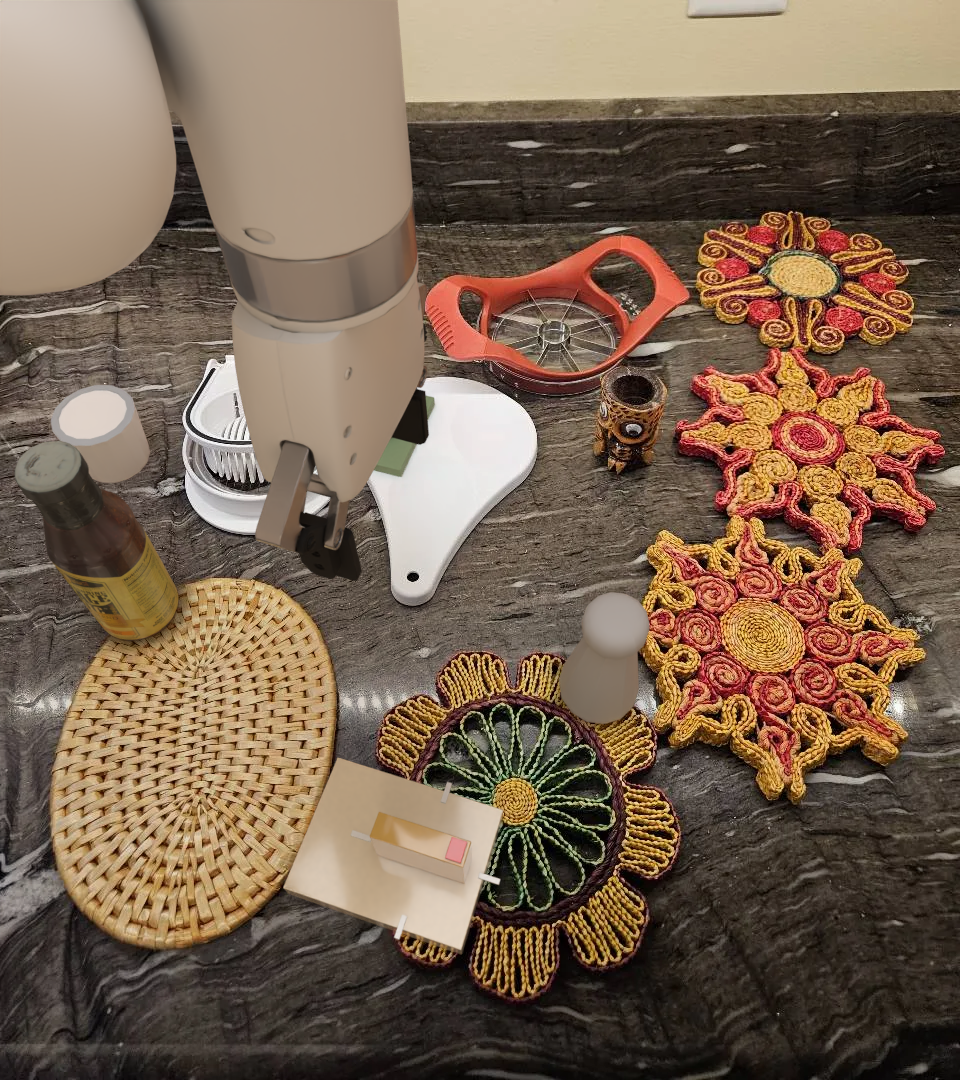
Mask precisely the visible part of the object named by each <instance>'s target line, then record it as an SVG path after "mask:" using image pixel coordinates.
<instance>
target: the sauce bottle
mask: <svg viewBox="0 0 960 1080" xmlns="http://www.w3.org/2000/svg"><path fill="white" fill-rule="evenodd" d="M14 480H15V482H16V484H17V486H18V487H19V489H20V491H21V493H22V494H23V495H24V496H25V498H27V499H28V500H30V501H31V502H33V504H34V505H35V506H36V508H37V509H38V510H39V512H40V514H41V517H42V522H43V523H42V524H43V532H44V542H45V551H46V554H47V557H48V558H49V560H50V562H51V563H52V564H53V565H54V567H55V568H56V569H57V571H58V572H59V574H60V575H61V576H62V577H63V579H64V580H65V581H66V582H67V584H68V585H69V587H70V588H71V589H72V591H73V592H74V593H75V594H76V595H77V597H78V598H79V600H80V601H81V602H82V603H83V604H84V606H85V607H86V608H87V609H88V611H89V612H90V614H91V615H92V617H94V619H95V620H96V621H97V622H98V624H99V625H100V626H101V628H102V629H103V630H104V632H106V633H108V634H109V635H111V636H112V637H115V638H117V639H120V640H123V641H126V642H135V641H141V640H143V639H147V638H150V637H153V636H154V635H156V634H158V633H161V632H162V631H164V630H165V629H166V628H167V627H168V626H169V624H170V623H171V620H173V617H174V616H175V614H176V611H177V609H178V606H179V592H178V589H177V587H176V584H175V583H174V580H173V578H172V577H171V576H170V574H169V571H168V570H167V568H166V566H165V565H164V563H163V561H162V559H161V557H160V555H159V554H158V552H157V550H156V548H155V547H154V544H153V543H152V541H151V539H150V538H149V536H148V534H147V532H146V530H145V529H144V527H143V525H142V524H141V522H140V521H138V520H137V518H136V516H135V514H134V511H133V510H132V508H131V507H130V506H129V504H128V503H127V502H126V501H125V500H124V499H123V498H122V496H120V495H118V494H116V493H114V492H112V491H109V490H106V489H104V488H101V487H100V486H99V485H98V484H97V483H96V482H95V480H94V479H92V477H91V476H90V474H89V468H88V465H87V463H86V461H85V459H84V458H83V456H82V455H81V453H80V452H79V450H78V449H77V448H75V447H74V446H72V445H71V444H69V443H67V442H63V441H60V440H56V441H55V440H54V441H44V442H41V443H38V444H35V445H34V446H32V447H30V448H28V449H27V450H26V451H25V452H24V453H23V454H22V455H21V456H20V457H19V458H18V460H17V463H16V464H15V468H14Z"/></svg>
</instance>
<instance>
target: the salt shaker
mask: <svg viewBox="0 0 960 1080" xmlns="http://www.w3.org/2000/svg"><path fill="white" fill-rule="evenodd" d="M650 629H651V627H650V621H649V617H648V612H647V610H646V608H645V607H644V606H643V604H641V602H640V601H639V600H638V599H637V598H634V597H633V596H631V595H628V594H627V593H623V592H616V591H615V592H614V591H609V592H607V593H602V594H599V595H597V596H596V597H595V598H594V599H593V600H592V601H590V602H589V603H588V604H587V606H586V607H585V610H584V613H583V616H582V619H581V632H582V637H581V639H580V640H579V641H578V643H577V644H576V646H575V648H574V649H573V650H572V652H571V653H570V655H569V656H568V658H567V659H566V660H565V662H564V663H563V665H562V669H561V672H560V675H559V678H558V682H559V690H560V691H559V692H560V698H561V700H562V701H563V703H564V705H565V706H566V707H567V708H568V710H569V711H570V712H571V713H572V714H573V715H575V716H576V717H578V718H579V719H581V720H583V721H584V722H586V723H593V724H601V725H606V724H609V723H613V722H615V721H620V720H621V719H622V718H624V716H626V714H627V713H629V711H630V710H631V709H632V708H633V707H635V705H636V704H635V703H636V700H637V696H638V695H639V689H640V685H639V656H638V655H639V654H638V653H639V651H640V650H641V649H642V648H643V647H644V646H645V644H646V641H647V638H648V636H649V632H650Z"/></svg>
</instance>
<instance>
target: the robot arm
mask: <svg viewBox="0 0 960 1080" xmlns="http://www.w3.org/2000/svg"><path fill="white" fill-rule="evenodd" d="M403 65H404V64H403V52H402V40H401V26H400V13H399V2H398V0H0V296H35V295H42V294H50V293H58V292H67V291H71V290H75V289H79V288H81V287H85V286H88V285H91V284H94V283H98V282H100V281H103V280H105V279H107V278H109V277H110V276H112V275H115V273H118V272H119V271H121V270H123V269H125V268H127V267H128V266H129V265H131V264H132V263H133V262H134V261H135V260H136V259H138V257H139V256H140V255H141V254H143V253H144V252H145V251H146V250H147V249H148V248H149V246H150V245H151V244H152V242H154V240H155V238H156V237H157V235H158V234H159V232H160V231H161V229H162V228H163V226H164V224H165V221H166V218H167V215H168V212H169V210H170V207H171V204H172V200H173V198H174V194H175V193H174V191H175V182H176V174H177V152H176V145H175V137H174V129H173V123H172V118H171V113H170V111H171V112H173V114H175V116H177V118H178V119H179V121H180V122H181V125H182V128H183V131H184V134H185V137H186V141H187V144H188V147H189V151H190V154H191V157H192V160H193V164H194V167H195V170H196V174H197V177H198V180H199V183H200V187H201V189H202V193H203V196H204V200H205V203H206V206H207V209H208V213H209V215H210V219H211V222H212V226H213V228H214V231H215V234H216V238H217V241H218V244H219V247H220V251H221V254H222V259H223V261H224V264H225V267H226V270H227V274H228V277H229V281H230V285H231V287H232V291H233V292H234V295H235V297H236V299H237V302H236V303H235V306H234V309H233V311H232V313H231V336H232V337H231V338H232V348H233V349H232V350H233V359H234V367H235V375H236V380H237V386H238V387H237V388H238V391H239V396H240V400H241V405H242V409H243V414H244V419H245V422H246V427H247V431H248V435H249V438H250V441H251V445H252V449H253V452H254V455H255V458H256V462H257V464H258V467H259V469H260V473H261V474H262V476H263V478H264V479H265V481H266V482H268V483H270V484H269V487H268V490H267V494H266V497H265V500H264V502H263V506H262V510H261V511H260V515H259V519H258V522H257V524H256V528H255V531H254V537H255V540H256V541H257V542H260V543H262V544H266V545H269V546H272V547H276V548H279V549H282V550H284V551H285V550H286V551H288V552H291V553H292V552H293V553H296V554H298V555H299V558H300V561H301V563H302V565H304V566H305V567H306V569H307V570H308V571H309V572H310V573H312V574H314V575H316V576H318V577H321V578H324V579H328V580H333V579H335V578H336V577H340V578H343V579H345V580H349V581H353V582H357V581H358V580H359V578H360V576H361V574H362V565H361V561H360V557H359V552H358V548H357V543H356V539H355V536H354V531H353V530H351V528H349V527H346V524H347V518H348V512H349V506H350V501H351V500H352V499H354V498H355V497H356V496H358V495H359V494H360V493H361V492H362V490H363V489H364V488H365V486H366V485H367V483H368V482H369V480H370V478H371V476H372V474H373V472H374V471H375V470H374V469H375V467H376V465H377V463H378V461H379V459H380V458H381V456H382V454H383V452H384V450H385V448H386V446H387V444H388V442H389V441H390V439H391V437H392V438H396V439H399V440H403V441H407V442H411V443H414V444H416V445H418V446H419V445H420V446H421V445H424V444H426V442H427V440H428V439H429V435H430V432H429V431H430V430H429V421H428V420H429V418H427V406H426V396H427V395H426V390H422V389H421V388H423V387H424V386H425V383H426V380H427V375H428V368H427V365H425V353H426V352H425V348H426V347H425V342H427V339H428V335H427V334H428V331H427V327H426V324H424V318H425V310H426V300H427V293H428V286H427V284H426V283H422V282H419V281H418V273H419V252H418V240H417V227H416V216H415V215H416V214H415V201H414V190H413V178H412V165H411V163H412V162H411V152H410V141H409V140H410V139H409V130H408V117H407V106H406V94H405V79H404V67H403ZM315 469H316V473H317V474H316V473H314V471H315ZM308 492H310V493H313V494H316V495H319V496H323V497H326V498H329V502H328V503H329V504H328V510H327V516H326V517H323V516H320V515H318V514H317V515H316V514H313V513H309V512H307V511H306V512H305V509H306V502H307V495H308Z"/></svg>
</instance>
